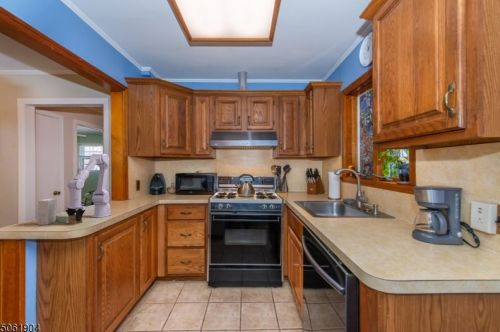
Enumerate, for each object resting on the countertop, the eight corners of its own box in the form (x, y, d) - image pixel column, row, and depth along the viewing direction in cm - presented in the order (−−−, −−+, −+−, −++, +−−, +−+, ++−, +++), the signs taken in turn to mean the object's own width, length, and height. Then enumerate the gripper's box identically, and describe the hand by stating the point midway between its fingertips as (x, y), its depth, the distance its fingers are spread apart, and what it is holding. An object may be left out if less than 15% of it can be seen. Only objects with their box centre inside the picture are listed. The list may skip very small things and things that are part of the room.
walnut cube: (76, 222, 154) (76, 214, 154) (82, 222, 152) (82, 214, 152) (68, 223, 149) (68, 215, 149) (74, 224, 147) (74, 216, 147)
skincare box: (46, 221, 152) (46, 198, 152) (56, 221, 153) (57, 198, 153) (36, 225, 144) (37, 200, 144) (48, 224, 145) (48, 200, 145)
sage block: (69, 218, 164) (69, 212, 164) (80, 219, 161) (80, 213, 161) (53, 221, 154) (53, 215, 154) (64, 223, 151) (64, 216, 151)
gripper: (60, 199, 149) (59, 221, 149) (78, 200, 145) (78, 223, 145) (71, 197, 155) (71, 218, 155) (89, 199, 151) (88, 220, 151)
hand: (75, 220), depth 150 cm, fingers closed on walnut cube, 5 cm apart
